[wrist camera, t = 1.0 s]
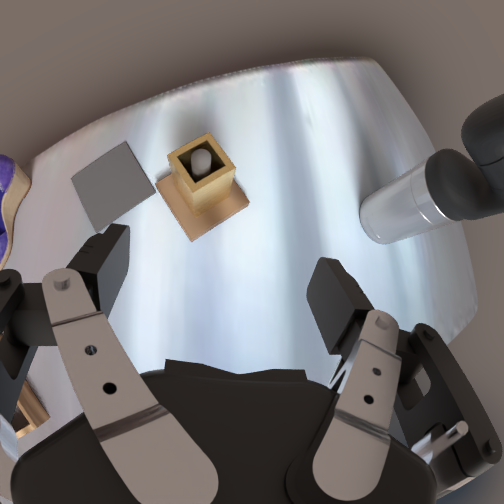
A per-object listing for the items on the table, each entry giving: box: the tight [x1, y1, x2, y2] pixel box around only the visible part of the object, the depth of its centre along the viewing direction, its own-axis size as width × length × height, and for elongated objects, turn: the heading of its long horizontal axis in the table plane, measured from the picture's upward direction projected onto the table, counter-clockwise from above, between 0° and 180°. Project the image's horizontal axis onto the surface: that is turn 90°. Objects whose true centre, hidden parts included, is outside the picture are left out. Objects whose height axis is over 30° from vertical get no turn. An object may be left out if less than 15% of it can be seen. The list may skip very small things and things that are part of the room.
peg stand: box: [155, 149, 249, 242], centre depth 35 cm, size 10×10×13 cm
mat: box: [71, 142, 156, 233], centre depth 39 cm, size 11×11×1 cm
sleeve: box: [167, 132, 236, 218], centre depth 35 cm, size 6×6×10 cm
